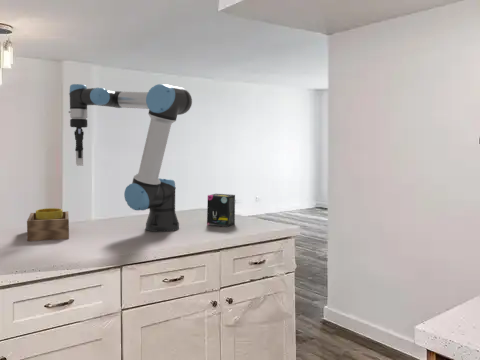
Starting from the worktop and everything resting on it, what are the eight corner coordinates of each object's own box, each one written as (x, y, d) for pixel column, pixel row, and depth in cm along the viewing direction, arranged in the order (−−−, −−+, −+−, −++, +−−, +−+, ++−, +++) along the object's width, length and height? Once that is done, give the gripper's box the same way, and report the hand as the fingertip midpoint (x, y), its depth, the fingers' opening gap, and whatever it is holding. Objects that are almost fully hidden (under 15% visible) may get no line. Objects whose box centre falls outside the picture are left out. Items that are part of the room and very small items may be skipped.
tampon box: (206, 225, 221) (206, 195, 219) (214, 222, 229) (215, 193, 228) (227, 227, 216) (227, 196, 215) (235, 224, 225) (235, 194, 224)
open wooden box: (68, 228, 208) (68, 211, 207) (69, 238, 187) (68, 219, 186) (31, 230, 202) (30, 212, 202) (27, 241, 181) (26, 221, 181)
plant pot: (53, 235, 188) (52, 212, 187) (31, 234, 190) (30, 211, 190) (67, 231, 198) (67, 208, 198) (46, 229, 200) (45, 207, 200)
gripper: (69, 119, 221) (70, 163, 223) (70, 117, 198) (71, 166, 200) (86, 120, 224) (86, 163, 226) (88, 117, 201) (89, 166, 202)
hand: (79, 164), depth 213 cm, fingers open, 13 cm apart
